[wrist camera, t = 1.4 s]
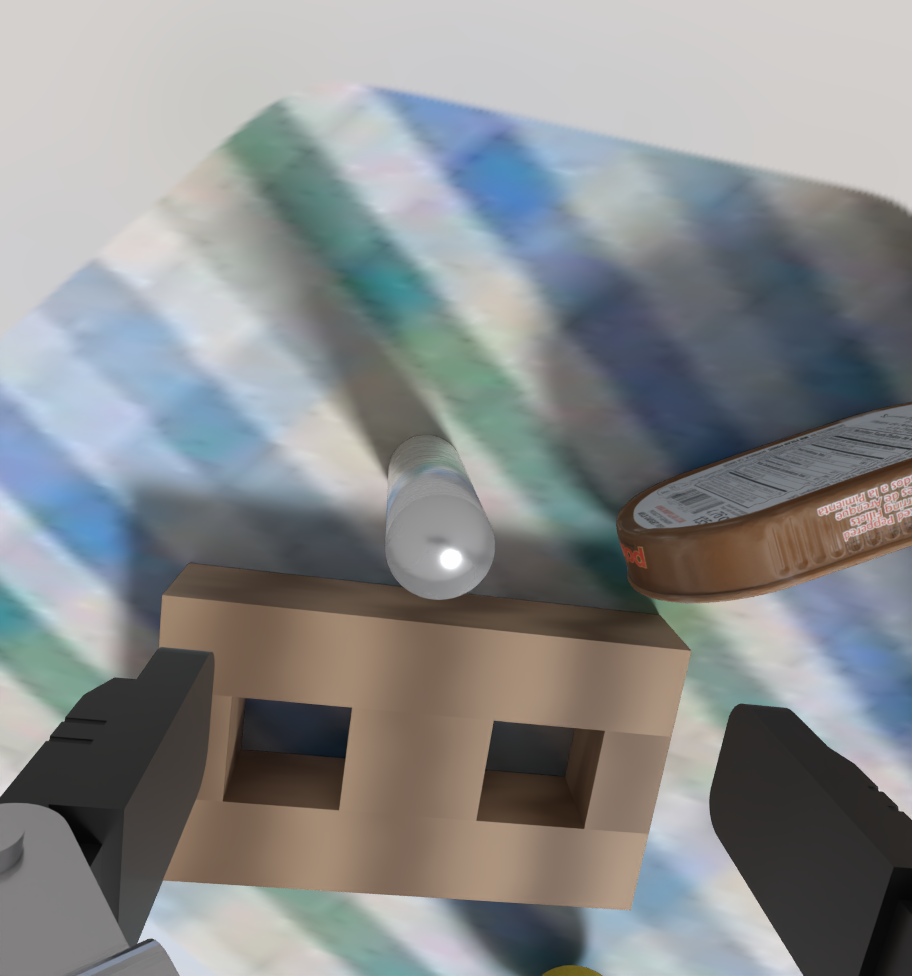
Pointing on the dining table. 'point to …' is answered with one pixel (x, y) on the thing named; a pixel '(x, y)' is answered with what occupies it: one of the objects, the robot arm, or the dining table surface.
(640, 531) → the tin
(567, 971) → the lemon
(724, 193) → the dining table surface
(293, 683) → the hole block
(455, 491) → the peg
